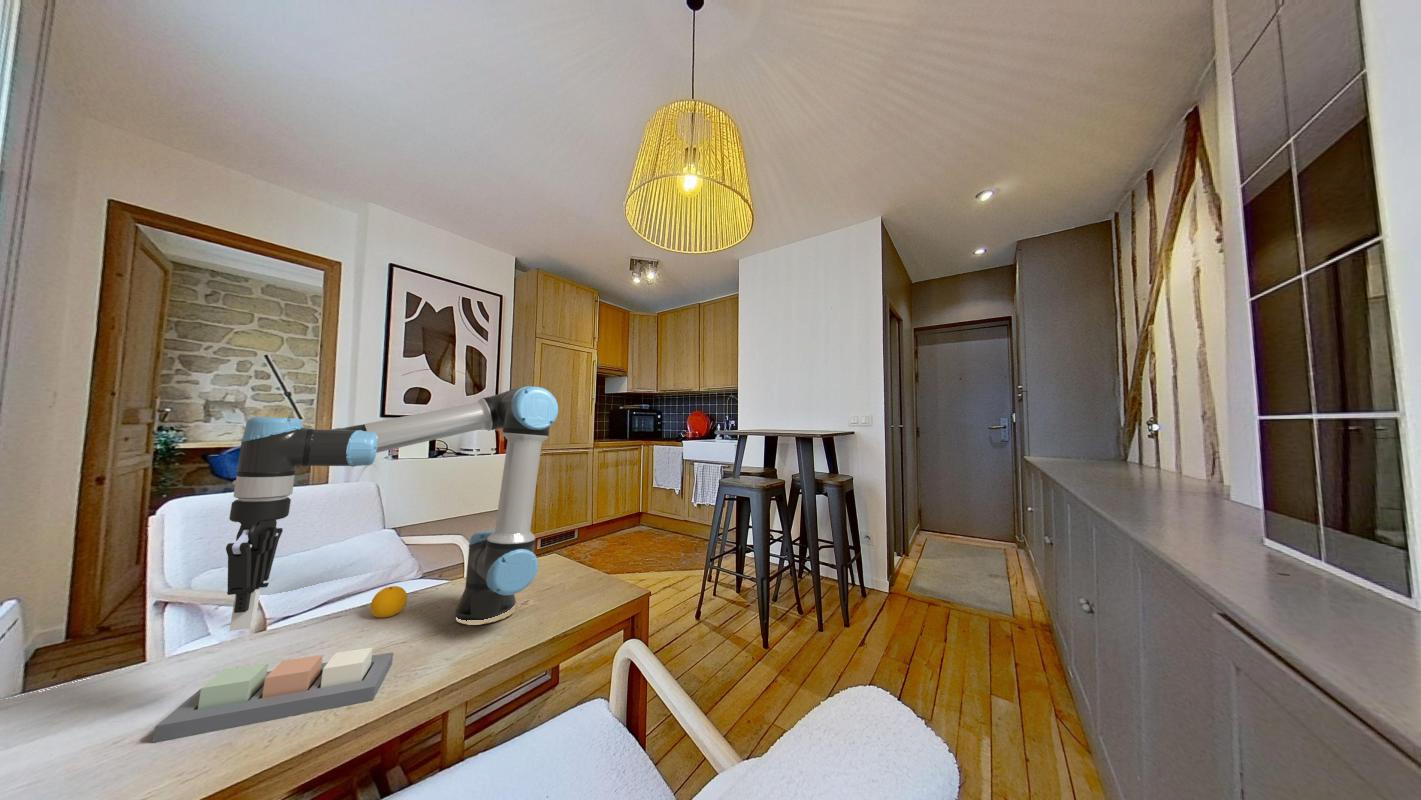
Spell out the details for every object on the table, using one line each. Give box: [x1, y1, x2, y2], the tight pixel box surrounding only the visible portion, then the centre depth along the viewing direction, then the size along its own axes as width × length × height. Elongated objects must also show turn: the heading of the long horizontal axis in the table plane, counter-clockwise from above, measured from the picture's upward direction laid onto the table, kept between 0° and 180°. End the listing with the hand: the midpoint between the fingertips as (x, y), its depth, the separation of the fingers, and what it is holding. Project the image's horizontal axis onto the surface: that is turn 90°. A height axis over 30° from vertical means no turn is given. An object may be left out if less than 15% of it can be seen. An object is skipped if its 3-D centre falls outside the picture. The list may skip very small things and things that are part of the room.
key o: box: [198, 662, 269, 709], centre depth 73 cm, size 6×6×4 cm
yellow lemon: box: [370, 585, 408, 619], centre depth 111 cm, size 8×8×8 cm
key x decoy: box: [262, 654, 324, 698], centre depth 76 cm, size 6×6×4 cm
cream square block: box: [321, 647, 374, 688], centre depth 80 cm, size 6×6×4 cm
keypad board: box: [152, 652, 394, 744], centre depth 76 cm, size 28×13×2 cm, turn 116°
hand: (242, 627), depth 74 cm, fingers closed
